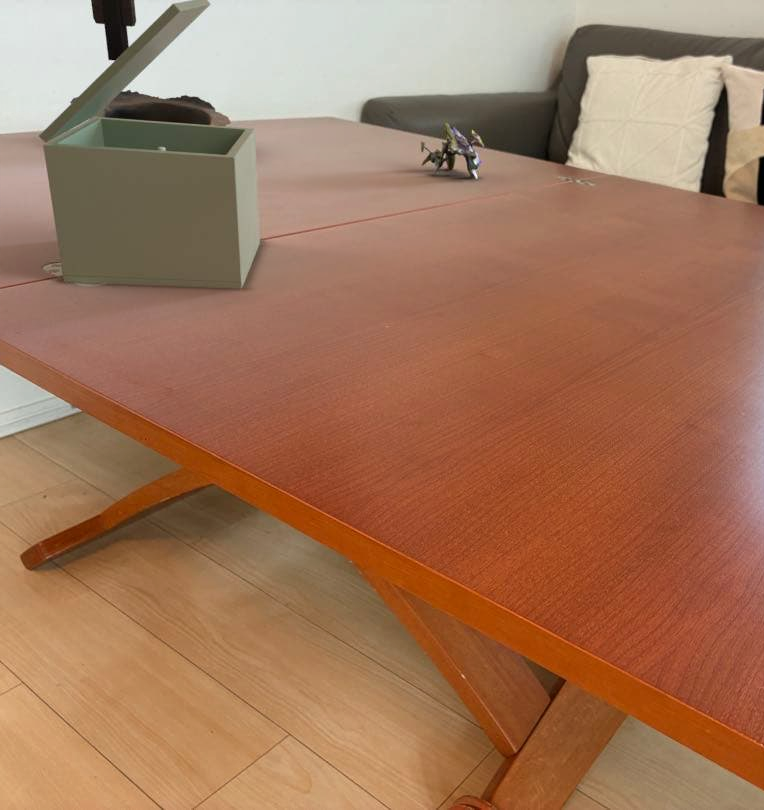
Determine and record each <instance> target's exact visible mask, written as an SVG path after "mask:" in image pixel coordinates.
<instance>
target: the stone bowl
mask: <svg viewBox="0 0 764 810" xmlns="http://www.w3.org/2000/svg"><path fill="white" fill-rule="evenodd" d="M78 97H79V96H76V97H73V98H72V99H71V100H70V101H69V103H70V105H71V104H72V103H73V102H74V101H75V100H76V99H77V98H78ZM95 117H104V118H117V119H131V120H144V121H158V122H171V123H185V124H198V125H212V126H225V127H227V126H228V125H230V124H231V120H230V119H229V116H227V115H226V114H225V115H224V114H223V113H222V112H220V111H216V108H215V107H214V106H213V105H212V103H211V102H209V101H205V100H204V99H201V98H200V97H199V96H189V95H187V94H185V95H180V96H176V97H166V98H162V97H159V96H152V95H149V94H144V93H140V92H139V91H137V90H136V91H131V89H128V90H125V91H124V90H122V91H121V92H120V93H119V94H118V95H117V96H116V97H115V98H114V99H113V100H112V101H111V102H110V103H109V104H108V105H107V106H106V107H105V108H104V109H103V110H102V111H101V112H100V113H99V114H98V115H96V116H95ZM91 119H92V118H91Z"/></svg>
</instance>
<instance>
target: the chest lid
mask: <svg viewBox="0 0 764 810" xmlns="http://www.w3.org/2000/svg"><path fill="white" fill-rule="evenodd" d="M210 6H211V2H210V1H209V0H186V1H180V2H175V3H174V2H173V3H172V4H171V5H170V6H169V7H168V8H167V9H166V10H165V11H164V12H163V13H162V14H161V15H160V16H159V17H158V18H156V19H155V21H154V22H152V24H151V25H150V26H149V27H147V29H146V30H144V31H143V32H142V33H141V34H140V35H139V36H138V38H136V39H135V40H134V41H133V42H132V43H131V44H130V45H129V47H128V48H127V49H126V50H125V51H124V52H123V53H122V54H121V55H120V56H119V57H118V58H117V59H116V60H115V61H114V60H113V62H112V63H111V64H110V65H108V67H107V68H106V69H105V70H104V71H103V72H102V73H101V74H100V75H99V76H98V77H97V78H95V80H94V81H93V82H92V83H90V84H89V86H88V87H87V88H86V89H85V90H83V91H82V92H81V94H79V96H77V97H78V98H77V99H76V100H75V101H74V102H73V103H72V104H71V103H70V104H69V106H67V107H66V108H65V109H64V110H63V111H62V112H61V113H60V114H59V115H58V116H57V117H56V118H55V119H54V120H53V121H52V122H51V123H50V124H49V125H48V126H47V127H46V128H45V129H44V130H43V131H42V132H41V133H40V134H39V135H38V137H39V139H41V140H42V141H43V142H45V143H47V142H49V141H51V140H53V139H55V138H57V137H58V136H60V135H62V134H64V133H66V132H68V131H70V130H71V129H73V128H75V127H77V126H79V125H81V124H82V123H84V122H86V121H88V120H90V119H91V118H93V117H95V116H96V115H98V114H99V113H100V112H101V111H102V110H103V109H104V108H105V107H106V106H107V105H108V104H109V103H110V102H111V101H112V100H113V99H114V98H115V97H116V96H117V95H118V94H119V93H120V92H121V91H122V92H123V91H124V90H125V89H126V88H127V87H128V86H129V85H130V84H131V83H132V82H133V81H134V80H135V79H136V78H137V77H138V76H139V75H140V74H141V73H142V72H143V71H144V70H146V68H147V67H149V65H150V64H151V63H153V62H154V61H155V59H156V58H157V57H159V56H160V55H161V54H162V53H163V52H164V51H165V50H166V49H167V48H168V47H169V46H170V45H171V44H172V43H173V42H174V41H175V40H176V39H177V38H178V37H179V36H180V35H181V34H182V33H183V32H184V31H185V30H186V29H187V28H189V26H190V25H191V24H192V23H193V22H195V21H196V19H197V18H199V16H201V15H202V14H203V12H205V11H206V10H207V9H208V8H209V7H210Z"/></svg>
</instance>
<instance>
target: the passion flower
mask: <svg viewBox="0 0 764 810" xmlns="http://www.w3.org/2000/svg"><path fill="white" fill-rule="evenodd" d="M443 131H444V135H445V136H446V138H445V141H446V142H444V141H442V142H441V146H442V147H441V150H439V149H435V150H434V151H431V150H430V149H428V148H427V147H426V146H425V145H426V143H425V141H420V151H421V153H424V150H426V151H427V152H429V153H428V155H427V156H426V157H425V158H424V160H423V161H422V163H421V166H422V167H423V166H425V165H426V164H427V163H429V162H431V163H432V164H434V167H433V171H432V174H431V177H432V176H435V174H436V172H437V171H438V170H439V169H440V168H442V167H443V166H444V163H445V164H446V169H447V171H452V170H454V168H455V164H456V155H458V156H463V157H464V159H465V162H466V169H467V172H468V174H469V176H470V178H471V179H472V180H477V179H478V178H479V177H478V174H477V170H479V169H480V167H481V166H482V165H481V164H482V160H481V159H480V155H479V154H478V152H476V150H475V149H474V148H473V146H474V144H478V145H479V146H480V148H482V149H485V147H486V145H485V144H484V141H483V140H482V139H481V136H480V135H479V134H478V133H477V132H476V131H475V130H473V129H471V136H472V138H473V139H472V141H468V139H467V138H466V137H465V136H464V135H462V134H461V132H460V131H459V130H457V128H456V127H455V126H453V129H451V127H450V124H449V123H448V122H444V130H443ZM444 156H445V157H444Z"/></svg>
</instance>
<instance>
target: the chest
mask: <svg viewBox="0 0 764 810" xmlns="http://www.w3.org/2000/svg"><path fill="white" fill-rule="evenodd" d="M42 146H43V153H44V160H45V166H46V172H47V173H46V174H47V179H48V180H47V181H48V186H49V192H50V199H51V206H52V212H53V218H54V225H55V232H56V239H57V246H58V253H59V258H60V264H61V272H62V279H63V283H75V284H103V285H104V284H105V285H128V286H129V285H132V286H156V287H157V286H158V287H184V288H185V287H187V288H208V289H209V288H212V289H240V290H242V289H243V287H244V284H245V282H246V279H247V277H248V274H249V271H250V269H251V266H252V263H253V261H254V259H255V256H256V254H257V251H258V249H259V246H260V244H261V237H260V233H261V232H260V211H259V191H258V190H259V189H258V188H259V187H258V168H257V146H256V129H255V128H251V127H239V126H238V127H237V126H226V127H225V126H212V125H198V124H185V123H171V122H158V121H144V120H131V119H117V118H104V117H93V118H92V119H89V120H87V121H85V122H83V123H82V124H80V125H78V126H76V127H74V128H72V129H71V130H69V131H67V132H65V133H63V134H61V135H59V136H58V137H56V138H54V139H52V140H50V141H48V142H45V143H44V144H43V145H42ZM158 147H165V150H166V151H159V150H158Z"/></svg>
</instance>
